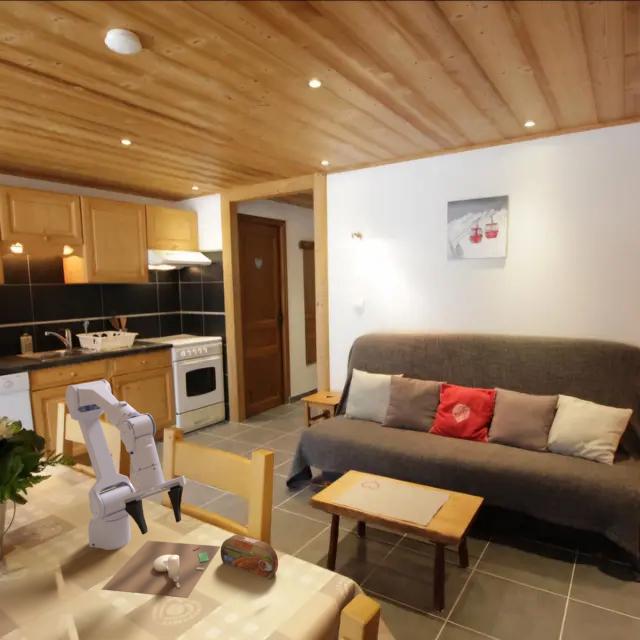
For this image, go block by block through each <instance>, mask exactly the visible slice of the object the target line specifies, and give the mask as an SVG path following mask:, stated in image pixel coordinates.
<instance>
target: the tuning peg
mask: <svg viewBox="0 0 640 640" xmlns="http://www.w3.org/2000/svg"><path fill="white" fill-rule="evenodd" d="M154 569H155V570H156V571H159V572H164V571H168V573H169V578H172V579H173V580H174V582H175V581H178V580H179V577H178V576H179V575H180V566H179V556H178V555H163V556H160V557H159V558H157V559H156V560H155V561H154Z"/></svg>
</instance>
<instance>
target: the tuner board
mask: <svg viewBox="0 0 640 640" xmlns="http://www.w3.org/2000/svg"><path fill="white" fill-rule="evenodd" d="M221 546H222V545H210V544H209V545H208V544H197V543H196V544H193V543H182V542H169V541H158V540H156V541H155V540H147V541H145V542H144V544H143V545H141V547H140V548H138V550H137V551H136V552H135V553H134V554H133V555H132V556H131V557H130V559H128V561H126V562H125V564H124V565H123V566H122V567H121V568H120V569H119V570H118V571H117V572H116V573H115V574H114V575H113V576H112V577H111V578H110V580H108V582H107V583H105V584H104V586H103V587H102V588H101V590H104V591H114V592H127V593H136V594H145V595H146V594H147V595H153V596H154V595H155V596H164V597H165V596H166V597H174V598H175V597H176V598H186V599H187V598H189V596H190V595H191V593H192V592H193V590H194V588H195V587H196V586H197V584H198V583H199V581H200V579H201V578H202V576H203V574H204V573H205V572H206V570H207V568H208V567H209V565H210V564H211V562H212V561H213V559H214V558H215V556H216V555H217V553H218V552H219V551H220V550H221ZM163 555H178V556H179V566H180V575H179V576H178V577H179V580H178V581H175V582H174V580H173V579H172V578H169V573H168V571H164V572H159V571H156V570H155V569H154V561H155V560H156V559H157V558H159V557H160V556H163Z"/></svg>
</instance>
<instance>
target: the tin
mask: <svg viewBox="0 0 640 640" xmlns="http://www.w3.org/2000/svg"><path fill="white" fill-rule="evenodd" d="M220 546H221V547H220V558H221V561H222V563H223V565H229V566H231V567H235V568H238V569H241V570H243V571H247V572H250V573H252V574H256V575H258V576H261V577H265V578H267V579H268V580H269V581H270V580H271V579H272V578H273V576H274V575H276V573H277V572H278V569H279V560H278V559H279V558H278V554H277V551H276V550H275V549H274V548H273V546H272V545H270V544H269V543H268V542H266V541H262V540H259V539H256V538H251V537H248V536H245V535H240V534H234V535H232V536H230V537H229V538H226V539H225V540H223V542H222V544H221V545H220Z"/></svg>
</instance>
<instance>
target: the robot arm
mask: <svg viewBox="0 0 640 640" xmlns="http://www.w3.org/2000/svg"><path fill="white" fill-rule="evenodd" d="M65 403H66V406H67V409H68V413H69V415H70V417H71V419H72V420H74V421H77V422H78V425H79V429H80V430H81V434H82V438H83V440H84V444H85V447H86V450H87V454H88V455H89V459H90V463H91V466H92V469H93V473H94V476H95V479H96V481H95V482H94V484H93V486H92V487H91V488H90V489H89V491H88V499H89V508H90V512H91V514H92V516H91V518H90V519H89V522H88V526H87V527H88V529H87V530H88V531H87V532H88V544H89V548H99V549H103V550H107V551H111V550H118V549H120V548H122V547H125V546H126V545H128V544H129V543H130V542H131V538H132V536H131V534H132V533H131V518H132V519H133V521H134V522H135V524H136V525H137V527H138V529H139V530H140V533H141V535H142V536H143V535H146V534H147V533H148V524H147V523H146V519H145V513H144V508H143V507H144V506H143V499H147V498H149V497H152V496H155V495H158V494H161V493H164V492H167V495H168V497H169V500H170V504H171V506H172V509H173V515H174V520H175V522H176V523H179V522H181V521H182V515H181V512H182V511H181V509H182V508H181V506H182V495H183V490H184V486H185V485H186V484H187V481H186V477H185V475H182V476H178V477H175V478H171V479H169V480H165V477H164V474H163V470H162V466H161V463H160V458H159V454H158V450H157V447H156V446H157V445H156V442H155V439H154V437H155V435H156V433H157V426H156V422H155V419H154V417H153V416H152V415H151V414H150V413H140V412H138V411H137V410H136V409H135V408H134V407H132V406H131V405H130V404H129V403H128V402H127V401H125V400H123V401H119V400H118V399H117V398H116V397H115V395H114V394H112V388H111V384H110V383H109V382H108V381H107V380H106V379H104V378H103V379H99V380H95V381H90V382H85V383H79V384H70V385H68V386H67V388H66V391H65ZM104 413H107V414H106V418H107V420H108V422H110V424H112V425H113V426H114V427H115V428H116V429H117V430H118V431H119V436H120V439H121V442H122V443H123V444H124V446H125V450H126V452H127V453H129V456H130V460H131V464H132V468H133V473H134V476H135V481H136V485H137V489H138V490H137V491H136V489H135V487H134V485H133V484H132V483H131V481H130V477H128V476H127V475H124V474H121V473H120V472H117V469H116V466H115V463H114V460H113V457H112V454H111V451H110V448H109V445H108V441H107V438H106V436H105V432H104V429H103V426H102V424H101V423H102V422H101V419H100V417H101V415H103V414H104ZM159 489H160V490H159ZM154 491H155V492H154Z"/></svg>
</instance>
